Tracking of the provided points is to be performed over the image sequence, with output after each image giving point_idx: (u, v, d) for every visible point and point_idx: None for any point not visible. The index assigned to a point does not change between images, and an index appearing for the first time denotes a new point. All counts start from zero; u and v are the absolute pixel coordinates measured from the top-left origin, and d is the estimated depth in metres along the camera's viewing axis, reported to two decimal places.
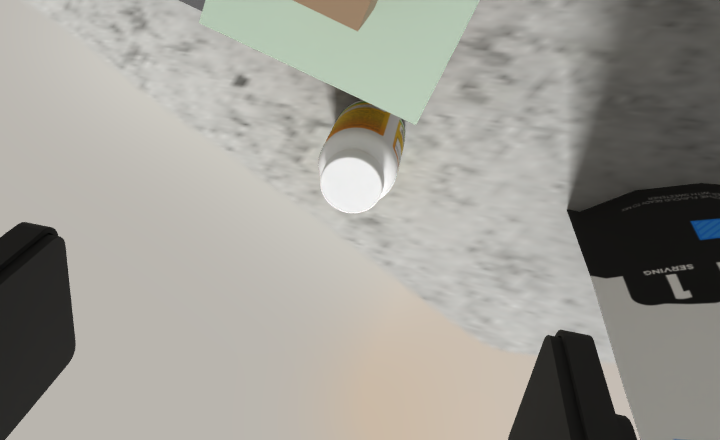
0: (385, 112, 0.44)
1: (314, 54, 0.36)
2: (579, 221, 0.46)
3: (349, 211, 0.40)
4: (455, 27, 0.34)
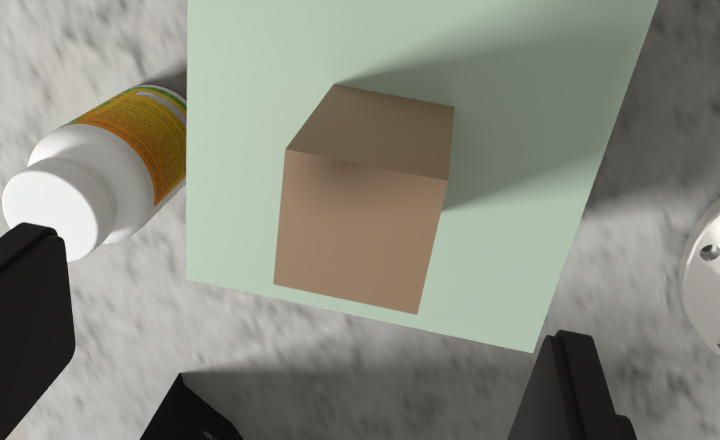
0: None
1: (221, 116, 0.21)
2: (171, 399, 0.39)
3: (10, 223, 0.24)
4: (333, 300, 0.24)
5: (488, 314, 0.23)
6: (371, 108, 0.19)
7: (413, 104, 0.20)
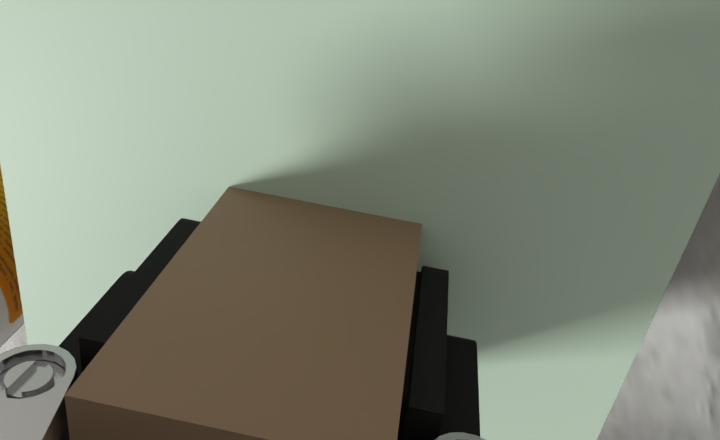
0: None
1: (62, 230, 0.14)
2: None
3: None
4: None
5: None
6: (280, 243, 0.11)
7: (354, 224, 0.12)
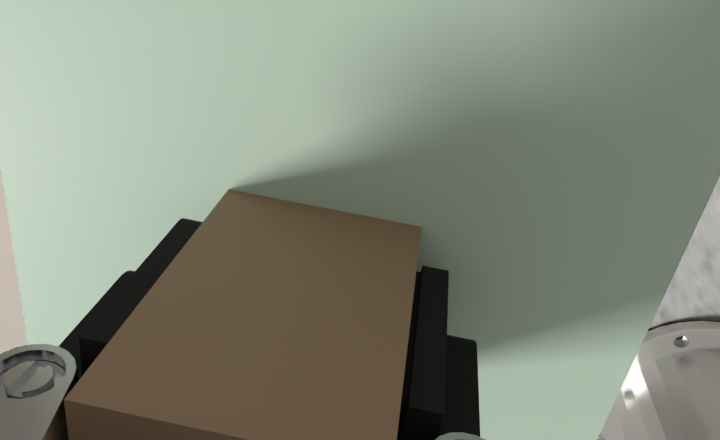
0: None
1: (62, 232, 0.14)
2: None
3: None
4: None
5: None
6: (279, 246, 0.11)
7: (353, 226, 0.12)
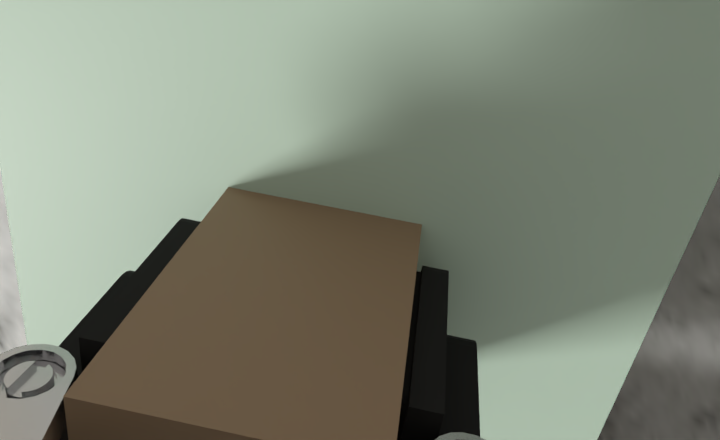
0: None
1: (61, 230, 0.14)
2: None
3: None
4: None
5: None
6: (279, 243, 0.11)
7: (353, 224, 0.12)
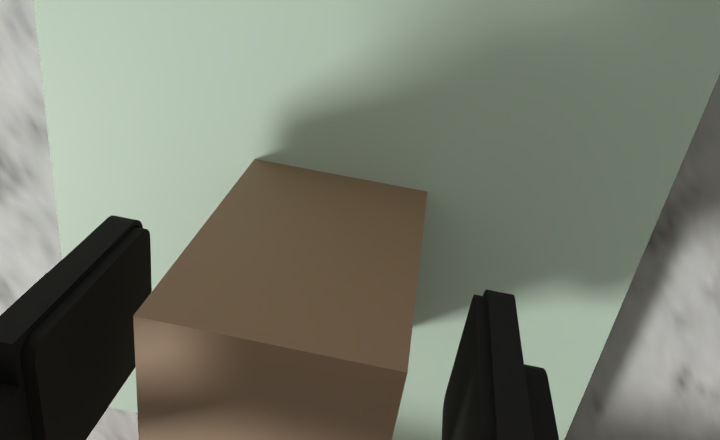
0: None
1: (102, 200, 0.15)
2: None
3: None
4: None
5: None
6: (303, 205, 0.13)
7: (367, 190, 0.14)
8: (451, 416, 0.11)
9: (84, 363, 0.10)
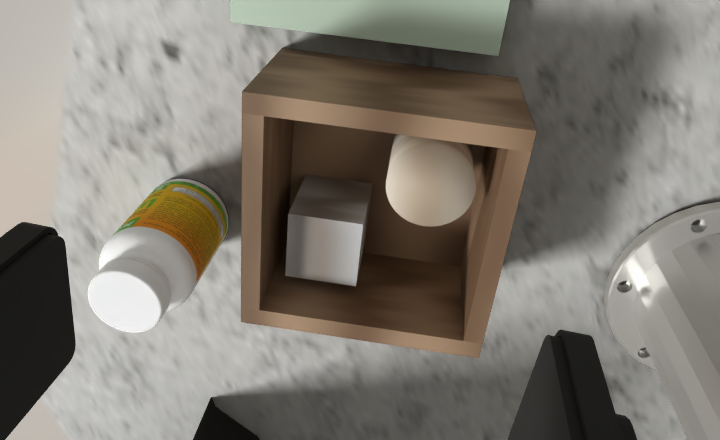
0: (220, 239, 0.39)
1: None
2: (207, 419, 0.47)
3: (93, 307, 0.32)
4: (345, 26, 0.32)
5: (463, 24, 0.31)
6: None
7: None
8: None
9: None
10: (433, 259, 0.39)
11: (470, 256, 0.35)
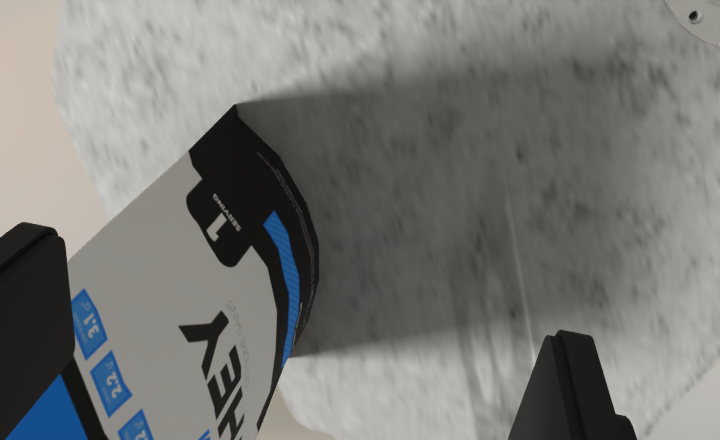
0: None
1: None
2: (229, 120, 0.45)
3: None
4: None
5: None
6: None
7: None
8: None
9: None
10: None
11: None
